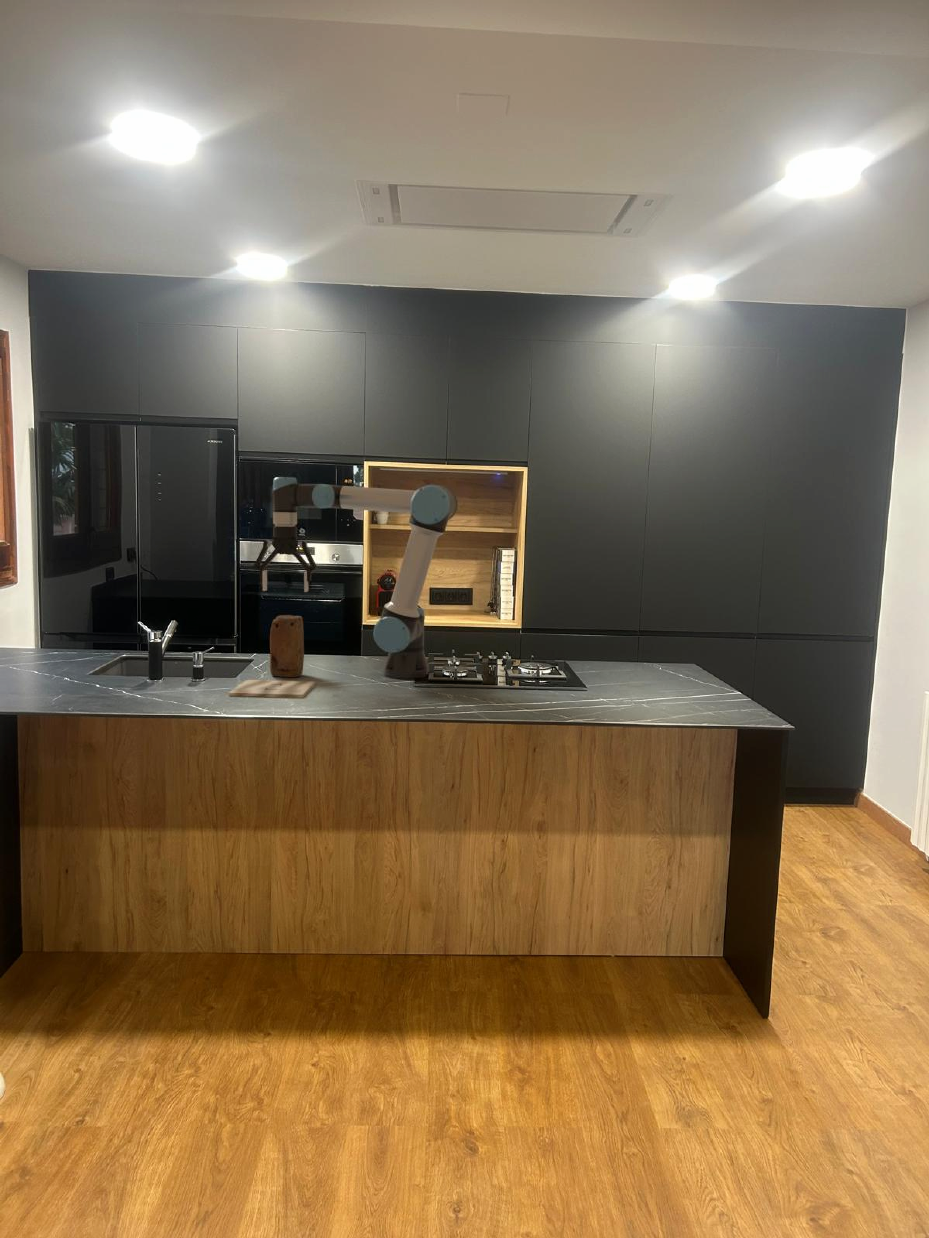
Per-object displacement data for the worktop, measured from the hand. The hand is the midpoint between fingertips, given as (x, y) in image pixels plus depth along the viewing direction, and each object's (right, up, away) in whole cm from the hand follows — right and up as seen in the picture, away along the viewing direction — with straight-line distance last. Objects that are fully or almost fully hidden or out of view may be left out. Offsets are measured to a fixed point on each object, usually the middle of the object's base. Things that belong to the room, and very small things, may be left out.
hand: (285, 591), depth 274 cm
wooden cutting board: (0, -31, -17) cm, 35 cm away
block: (0, -28, +4) cm, 28 cm away
